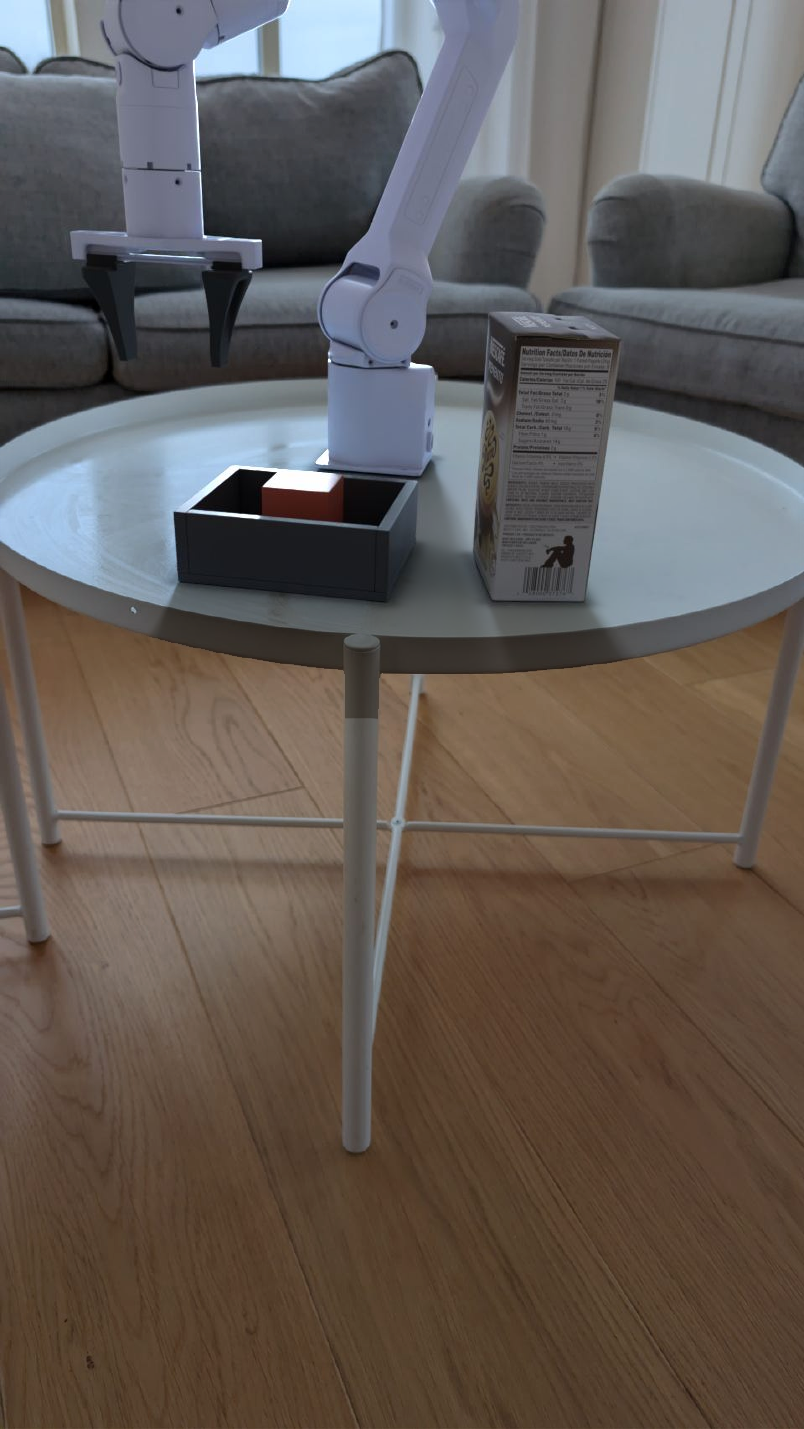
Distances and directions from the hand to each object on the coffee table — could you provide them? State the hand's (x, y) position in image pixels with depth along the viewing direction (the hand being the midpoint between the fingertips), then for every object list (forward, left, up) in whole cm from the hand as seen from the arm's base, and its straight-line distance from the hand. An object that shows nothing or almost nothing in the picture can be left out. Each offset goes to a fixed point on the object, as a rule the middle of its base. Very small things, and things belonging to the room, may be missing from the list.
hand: (173, 362), depth 82 cm
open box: (-15, +17, -9) cm, 25 cm away
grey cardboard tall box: (-30, +16, -10) cm, 35 cm away
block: (-15, +17, -9) cm, 24 cm away
